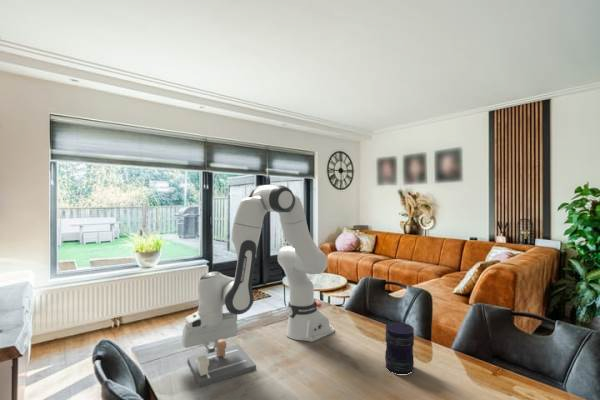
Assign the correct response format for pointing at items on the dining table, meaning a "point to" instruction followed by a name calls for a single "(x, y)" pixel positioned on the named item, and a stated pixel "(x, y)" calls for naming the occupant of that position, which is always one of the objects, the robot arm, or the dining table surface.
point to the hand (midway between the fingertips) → (210, 352)
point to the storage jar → (399, 347)
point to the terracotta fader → (221, 347)
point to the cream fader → (203, 365)
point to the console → (222, 365)
